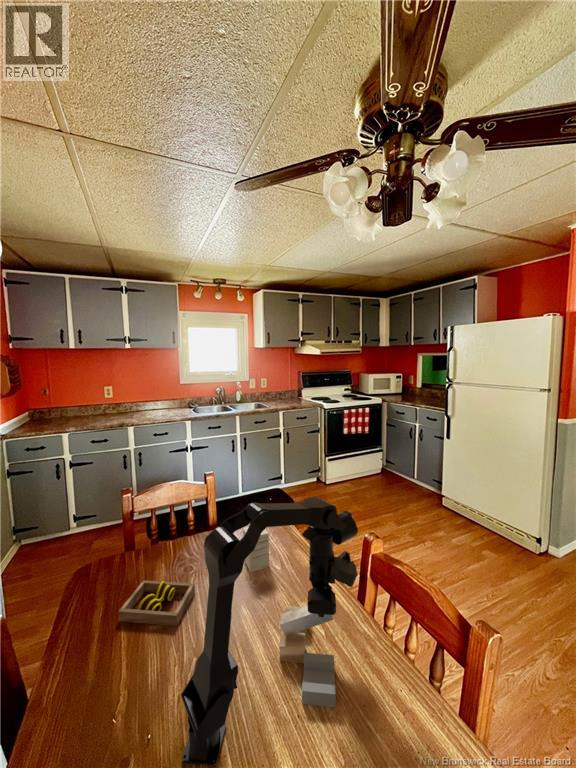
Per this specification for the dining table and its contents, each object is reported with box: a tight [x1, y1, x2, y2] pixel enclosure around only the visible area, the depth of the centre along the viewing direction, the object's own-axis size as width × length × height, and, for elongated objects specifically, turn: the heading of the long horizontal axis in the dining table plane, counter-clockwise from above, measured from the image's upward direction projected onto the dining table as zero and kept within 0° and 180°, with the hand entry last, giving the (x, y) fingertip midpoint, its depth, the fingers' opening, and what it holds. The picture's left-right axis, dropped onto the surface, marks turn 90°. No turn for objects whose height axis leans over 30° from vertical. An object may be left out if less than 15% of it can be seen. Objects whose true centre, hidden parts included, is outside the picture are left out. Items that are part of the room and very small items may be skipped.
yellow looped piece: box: [138, 580, 175, 611], centre depth 90 cm, size 10×5×5 cm, turn 159°
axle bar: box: [279, 604, 335, 636], centre depth 76 cm, size 13×3×3 cm, turn 85°
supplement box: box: [242, 526, 270, 573], centre depth 108 cm, size 7×7×13 cm
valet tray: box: [118, 579, 196, 627], centre depth 91 cm, size 12×17×3 cm
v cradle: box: [301, 652, 337, 708], centre depth 68 cm, size 8×7×3 cm
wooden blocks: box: [278, 605, 307, 664], centre depth 79 cm, size 12×6×4 cm, turn 174°
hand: (321, 610), depth 76 cm, fingers closed on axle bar, 3 cm apart
